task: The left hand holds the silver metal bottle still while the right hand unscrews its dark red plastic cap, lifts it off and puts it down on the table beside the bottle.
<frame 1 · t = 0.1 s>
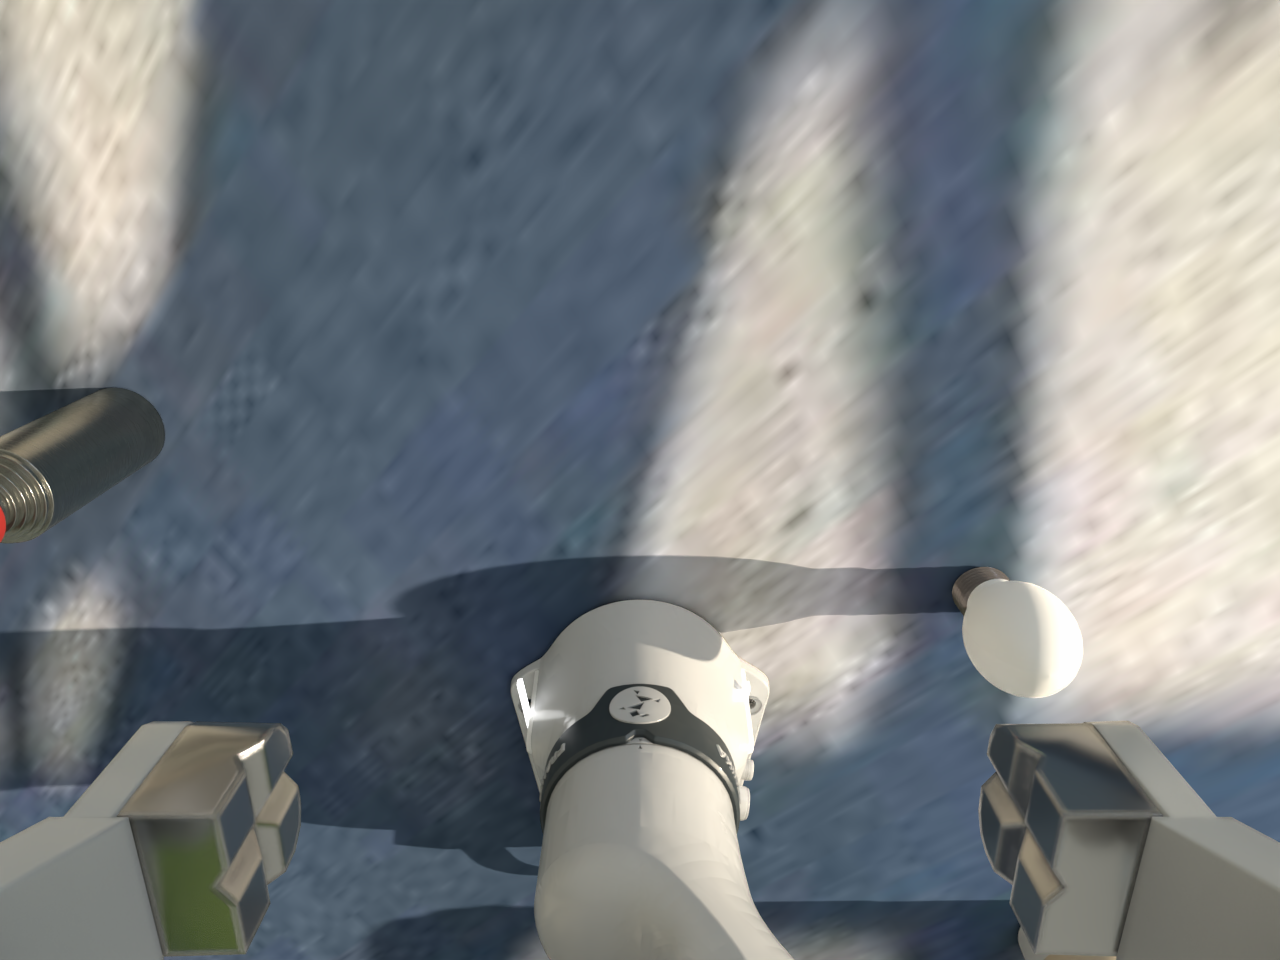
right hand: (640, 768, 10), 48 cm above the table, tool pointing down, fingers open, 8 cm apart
bottle: (122, 427, 59), on the table
coffee cup: (1058, 930, 75), on the table
light bulb: (982, 587, 63), on the table
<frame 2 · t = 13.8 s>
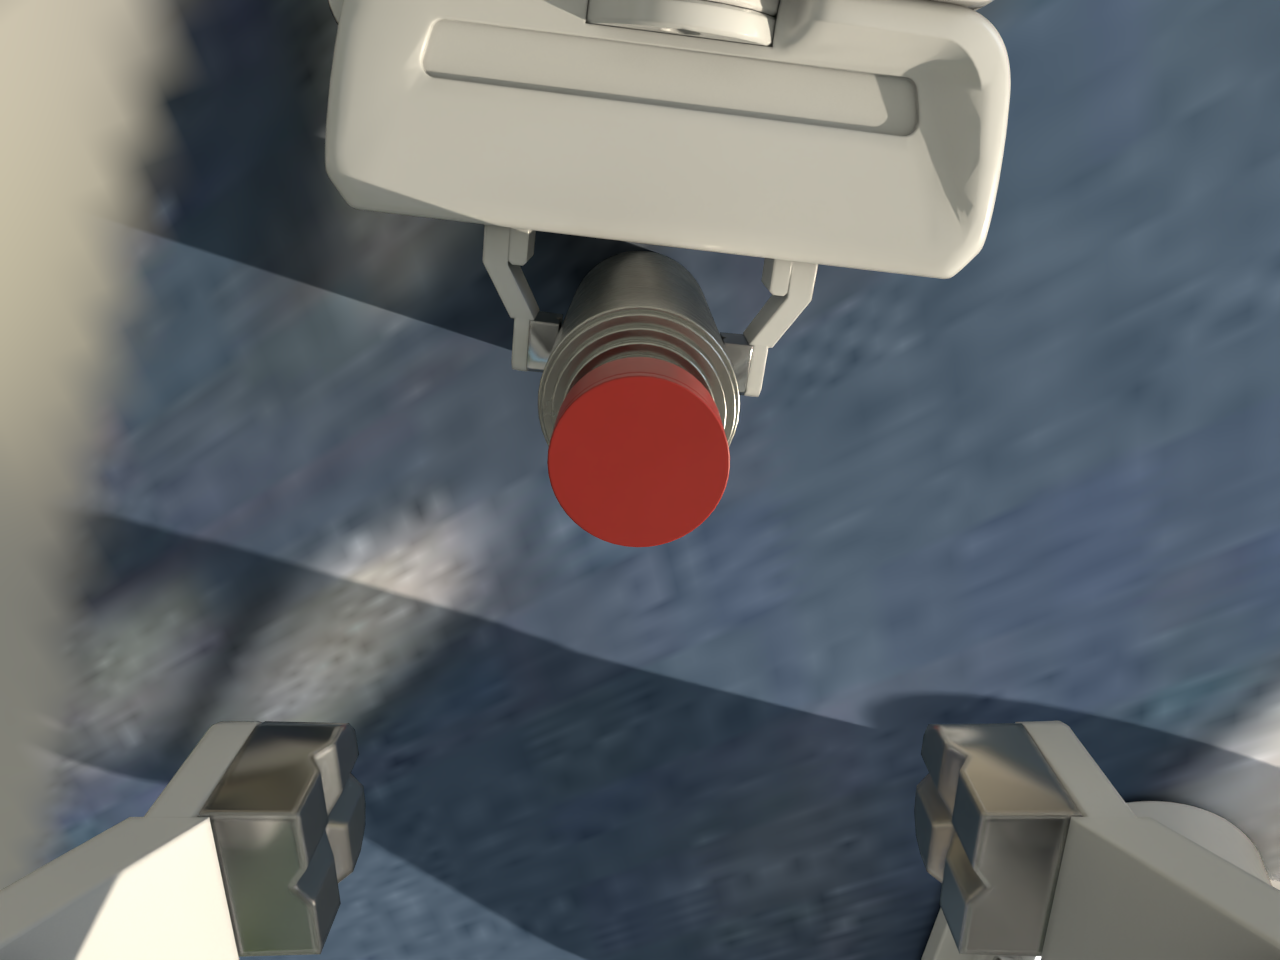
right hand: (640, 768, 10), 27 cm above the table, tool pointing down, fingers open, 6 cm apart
left hand: (637, 380, 31), fingers closed on bottle, 5 cm apart
bottle: (639, 321, 36), on the table, touching left hand
cap: (638, 460, 20), point 16 cm above the table, screwed on, not yet turned
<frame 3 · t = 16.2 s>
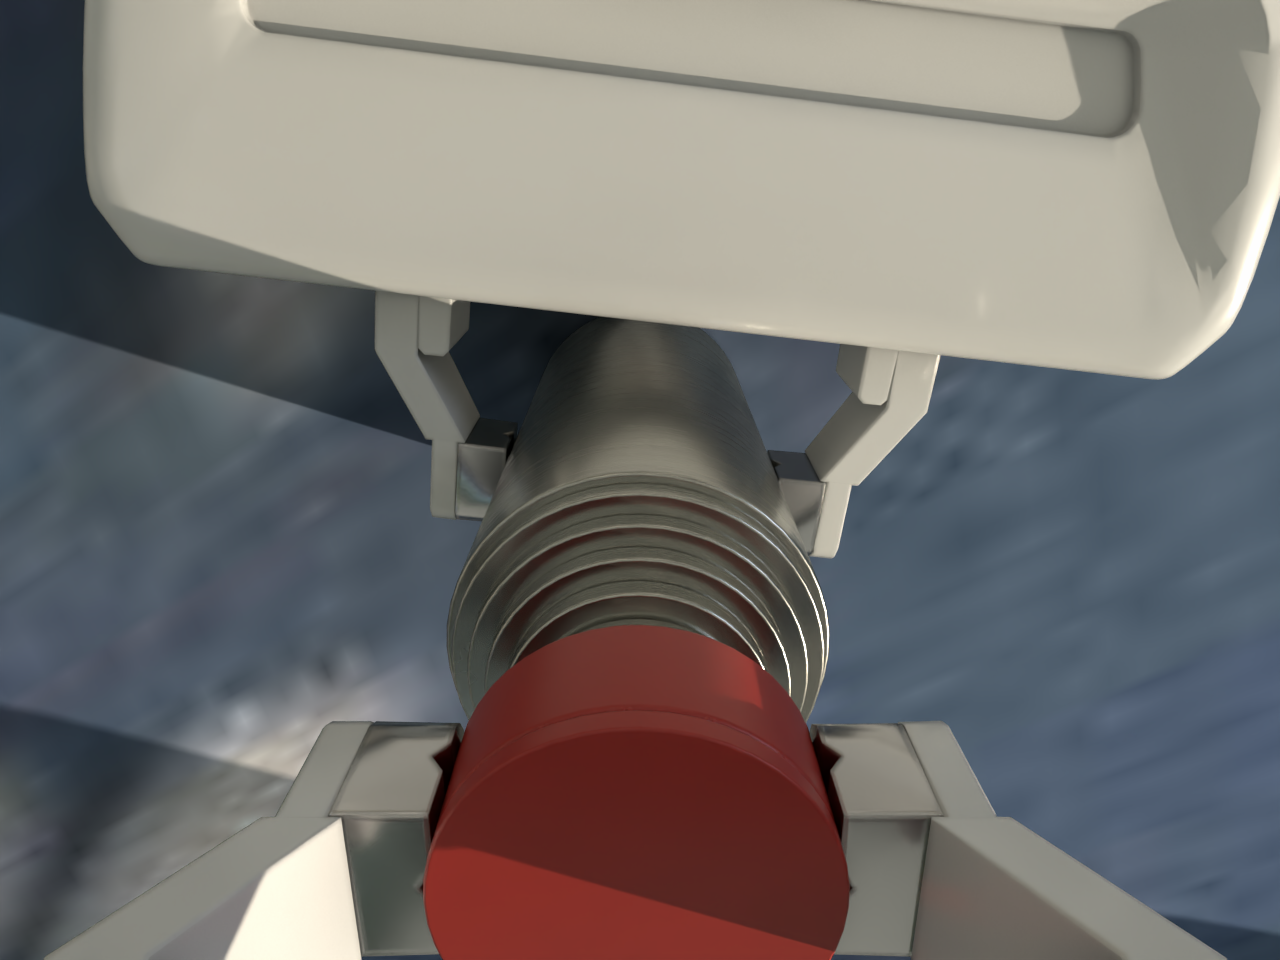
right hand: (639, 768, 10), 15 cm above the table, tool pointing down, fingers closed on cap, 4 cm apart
left hand: (636, 528, 19), fingers closed on bottle, 5 cm apart
bottle: (639, 411, 24), on the table, touching left hand
cap: (636, 883, 9), point 16 cm above the table, screwed on, not yet turned, touching right hand
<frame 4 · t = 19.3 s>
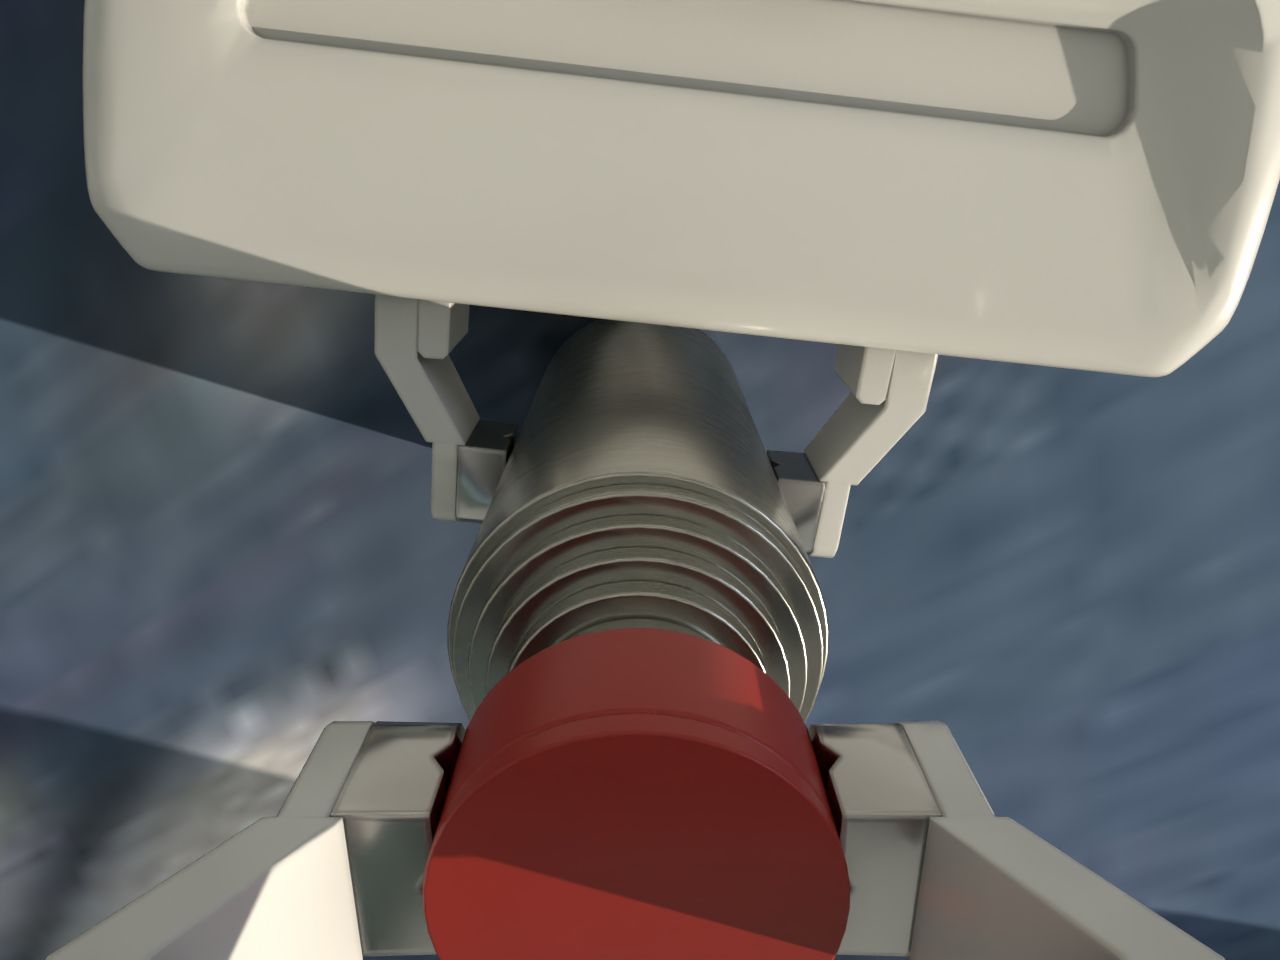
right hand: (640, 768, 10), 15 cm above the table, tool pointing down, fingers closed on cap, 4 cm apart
left hand: (636, 529, 19), fingers closed on bottle, 5 cm apart
bottle: (639, 412, 24), on the table, touching left hand
cap: (636, 886, 9), point 16 cm above the table, turned 83° so far, risen 0.1 cm, still on its thread, touching right hand
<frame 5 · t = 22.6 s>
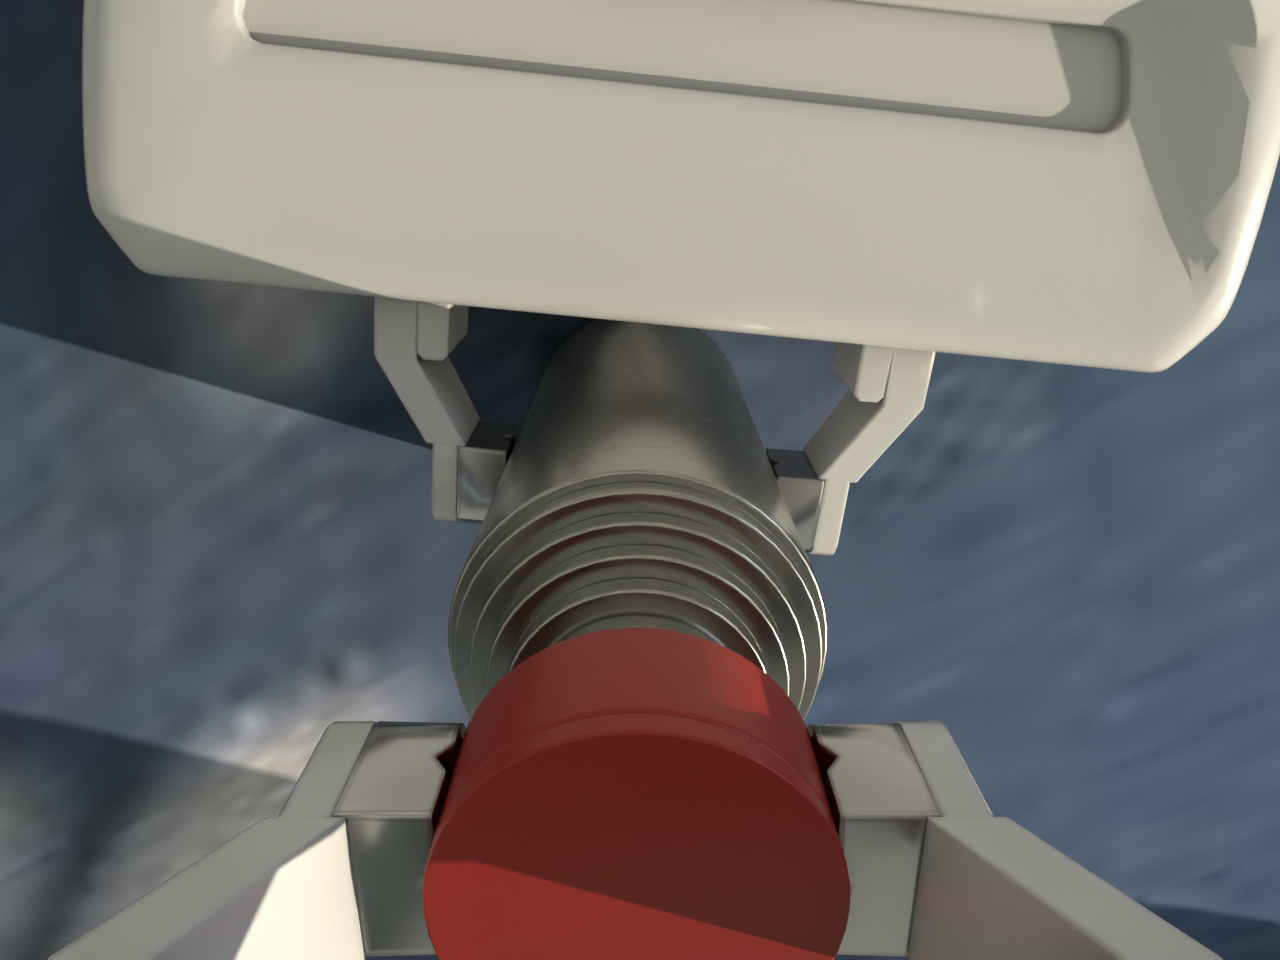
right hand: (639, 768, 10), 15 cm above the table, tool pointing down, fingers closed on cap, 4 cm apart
left hand: (636, 528, 19), fingers closed on bottle, 5 cm apart
bottle: (639, 412, 24), on the table, touching left hand
cap: (636, 887, 9), point 17 cm above the table, turned 166° so far, risen 0.1 cm, still on its thread, touching right hand
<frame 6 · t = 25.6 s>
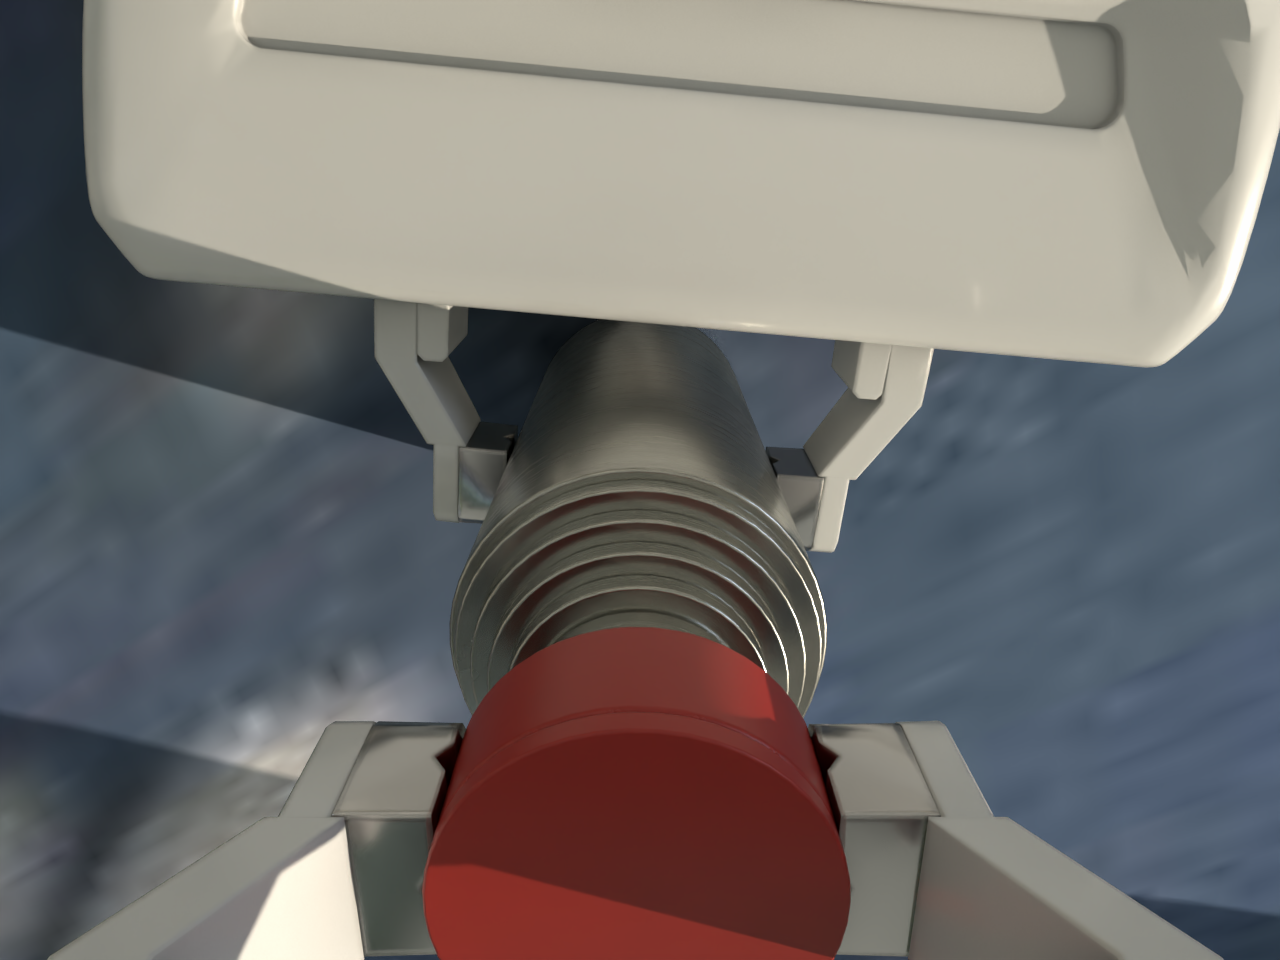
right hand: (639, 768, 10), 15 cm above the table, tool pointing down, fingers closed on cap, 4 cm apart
left hand: (637, 527, 19), fingers closed on bottle, 5 cm apart
bottle: (639, 412, 24), on the table, touching left hand
cap: (636, 886, 9), point 17 cm above the table, turned 249° so far, risen 0.2 cm, still on its thread, touching right hand
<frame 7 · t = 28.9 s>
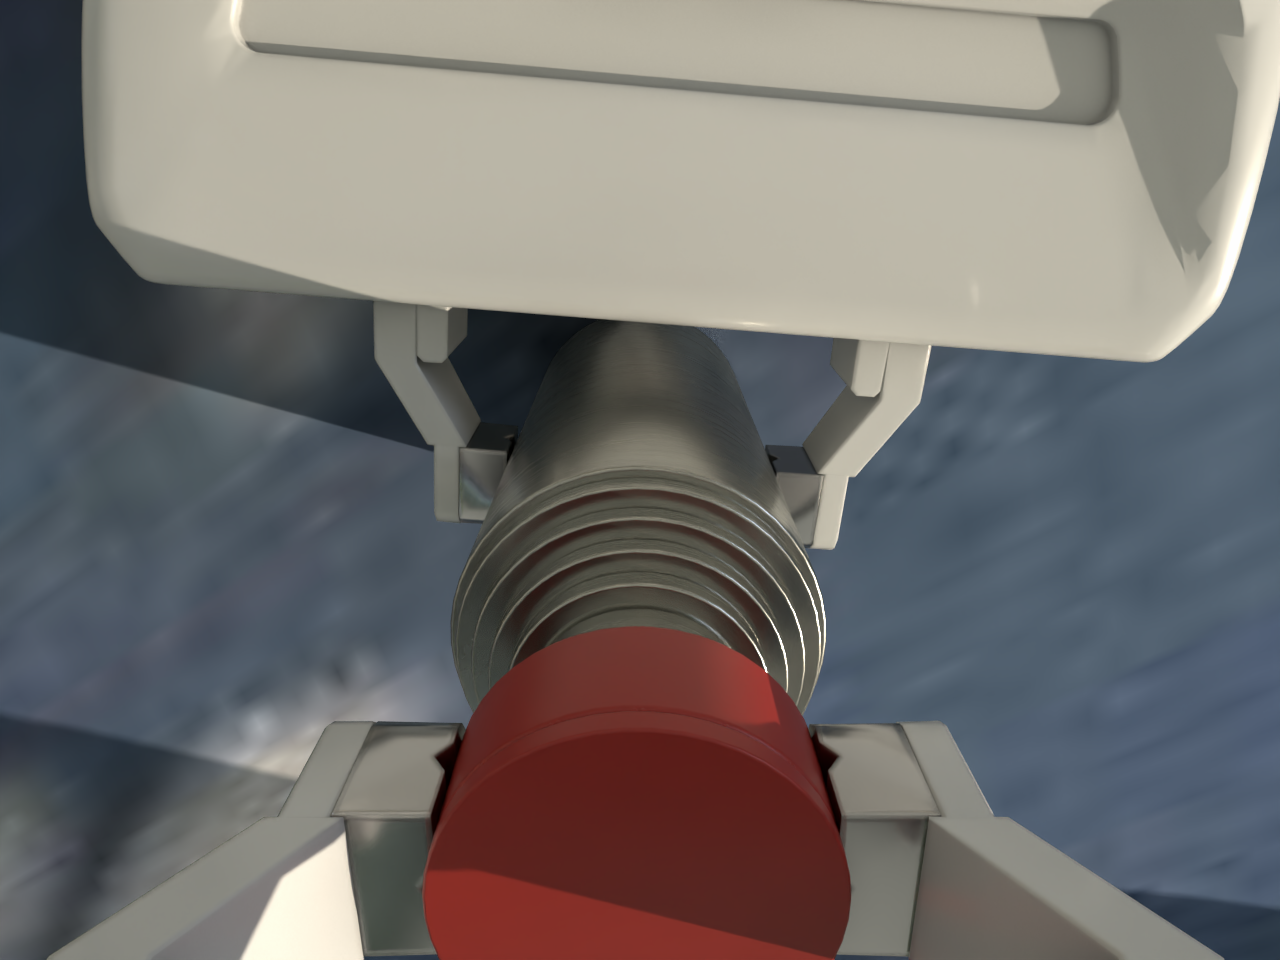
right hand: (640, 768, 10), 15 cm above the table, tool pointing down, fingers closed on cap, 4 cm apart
left hand: (637, 526, 19), fingers closed on bottle, 5 cm apart
bottle: (639, 412, 24), on the table, touching left hand
cap: (636, 885, 9), point 17 cm above the table, turned 332° so far, risen 0.3 cm, still on its thread, touching right hand
when the right hand's fingers open (2 cm above the table, at t = 39.1 s): cap drops 2 cm, point 2 cm above the table.
when the left hand's fingers open (6 cm above the table, at t = 40.3 s): bottle stays where it is, on the table.
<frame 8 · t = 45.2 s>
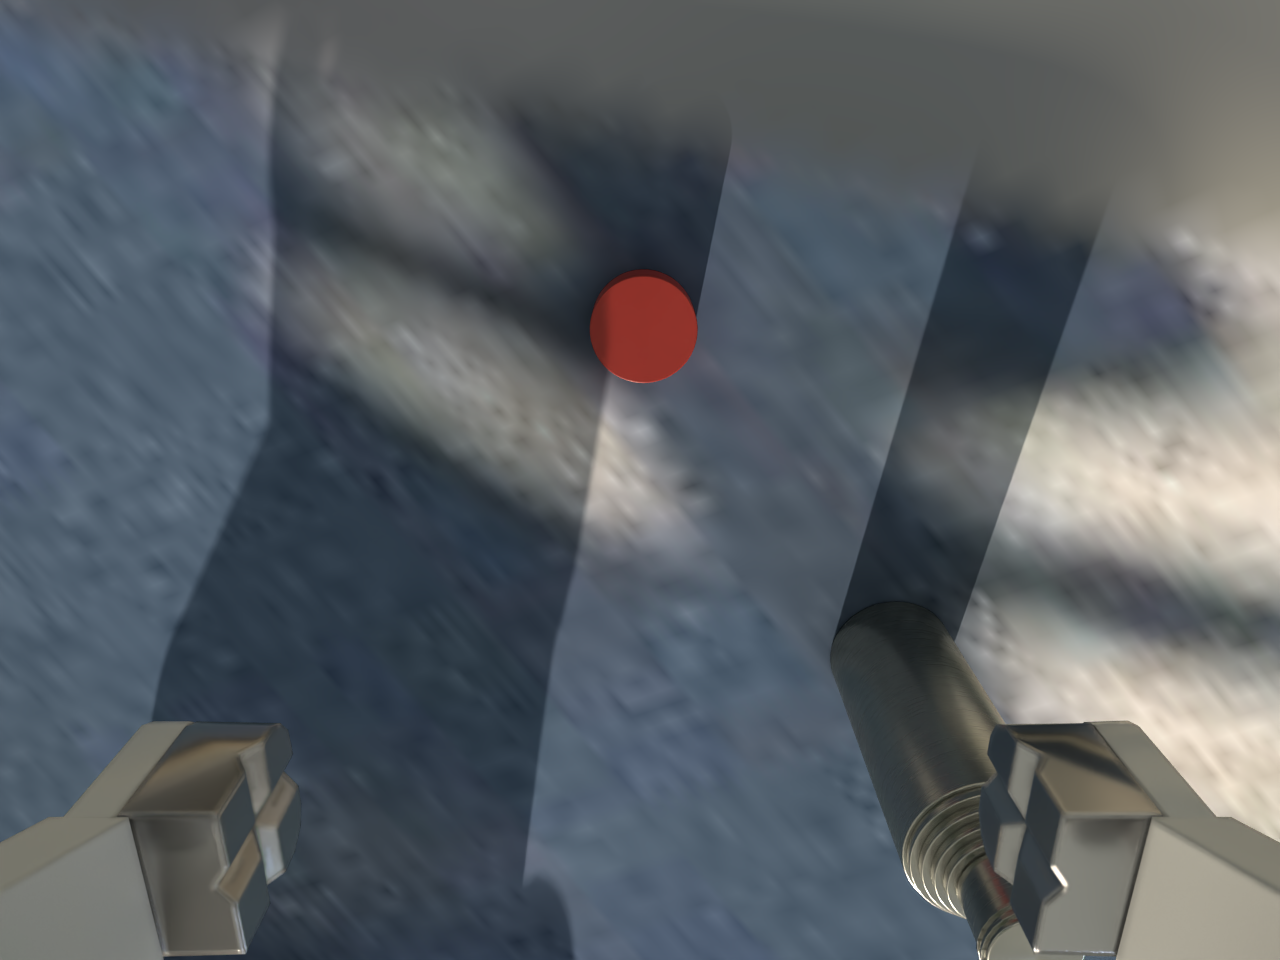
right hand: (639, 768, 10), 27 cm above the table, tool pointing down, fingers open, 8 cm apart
bottle: (890, 654, 41), on the table
cap: (643, 329, 34), point 2 cm above the table, off its thread
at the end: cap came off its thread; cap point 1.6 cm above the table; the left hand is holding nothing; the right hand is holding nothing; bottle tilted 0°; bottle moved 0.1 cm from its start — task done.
